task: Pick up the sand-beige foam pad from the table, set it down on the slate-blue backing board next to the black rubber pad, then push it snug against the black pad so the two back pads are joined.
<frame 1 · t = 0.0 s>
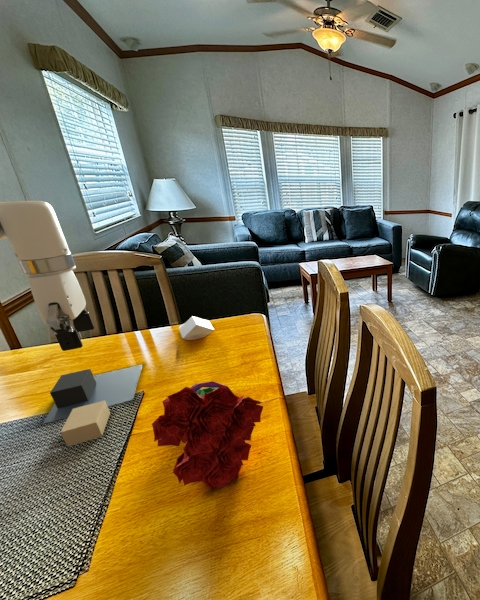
hand: (79, 339, 72), 18 cm above the table, tool pointing down, fingers open, 9 cm apart
backing board: (100, 393, 83), on the table
back pad left: (78, 395, 80), resting on backing board
wedge on round base: (198, 336, 111), on the table
bouquet: (209, 439, 69), on the table
loose pad: (91, 431, 70), on the table
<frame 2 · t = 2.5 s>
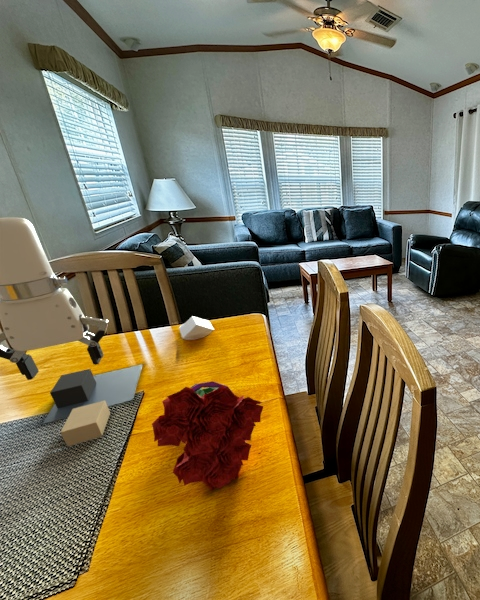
hand: (66, 368, 65), 16 cm above the table, tool pointing down, fingers open, 9 cm apart
nothing on the table moved.
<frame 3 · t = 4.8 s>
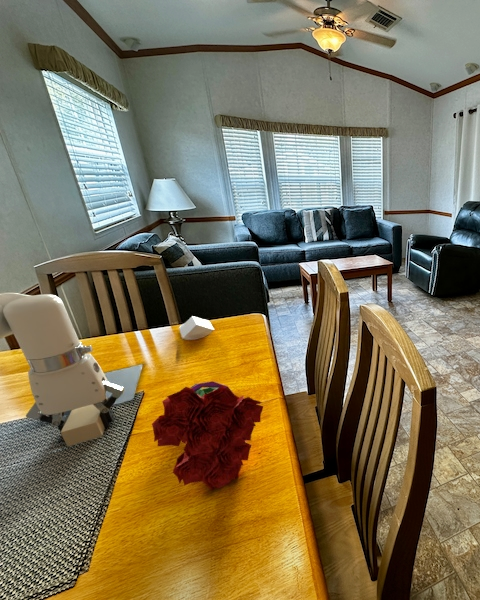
hand: (90, 429, 70), 1 cm above the table, tool pointing down, fingers closed on loose pad, 5 cm apart
loose pad: (91, 431, 70), on the table, touching gripper
everything else where it was.
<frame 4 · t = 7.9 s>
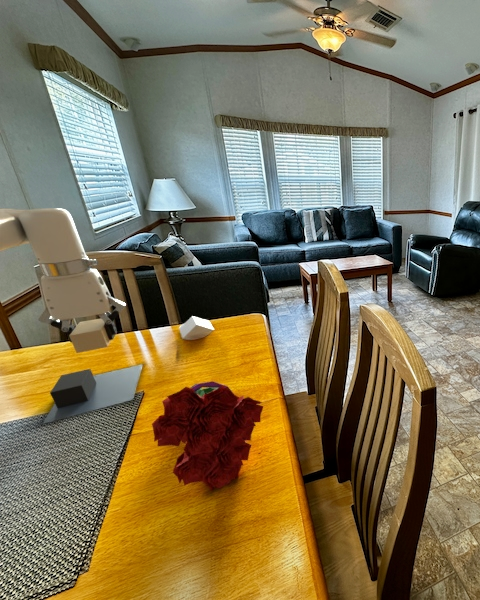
hand: (95, 340, 78), 15 cm above the table, tool pointing down, fingers closed on loose pad, 5 cm apart
loose pad: (96, 342, 78), point 14 cm above the table, touching gripper
everything else where it was.
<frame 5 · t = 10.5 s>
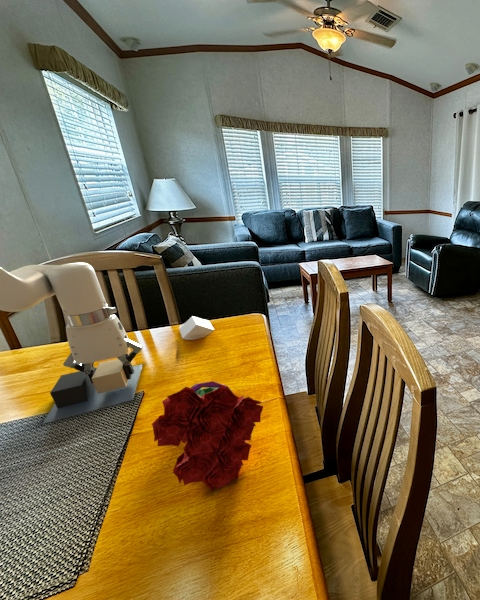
hand: (114, 379, 83), 3 cm above the table, tool pointing down, fingers closed on loose pad, 5 cm apart
loose pad: (115, 382, 83), point 2 cm above the table, touching gripper
everything else where it was.
when the fingers open (2 cm above the table, at t = 11.4 s): loose pad stays where it is, resting on backing board.
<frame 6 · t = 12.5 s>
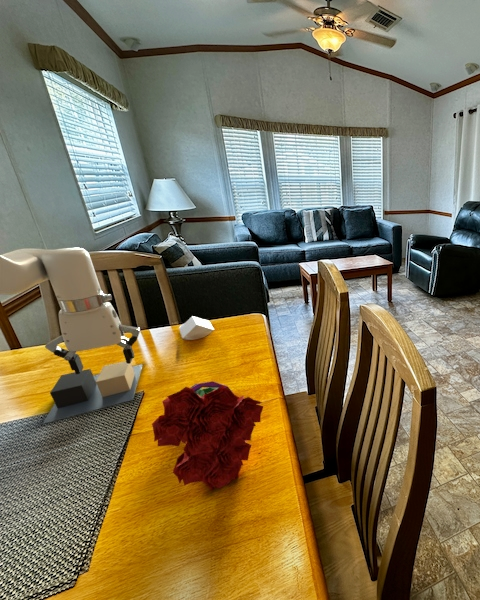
hand: (105, 366, 81), 7 cm above the table, tool pointing down, fingers open, 9 cm apart
loose pad: (119, 385, 84), point 1 cm above the table, touching backing board
everything else where it was.
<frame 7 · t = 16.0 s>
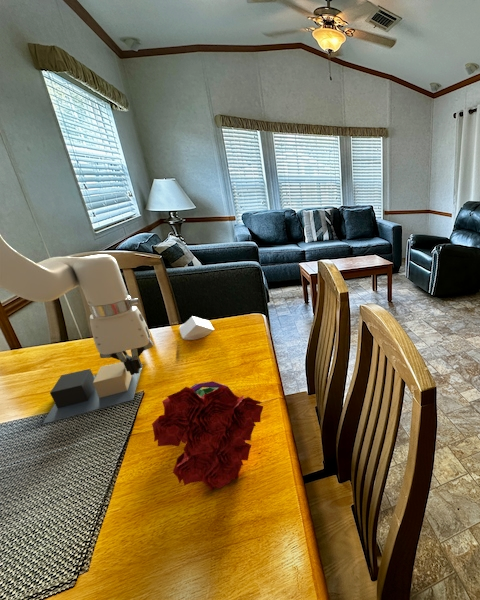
hand: (135, 371, 85), 4 cm above the table, tool pointing down, fingers closed
loose pad: (116, 385, 84), point 1 cm above the table, touching backing board, gripper
everything else where it was.
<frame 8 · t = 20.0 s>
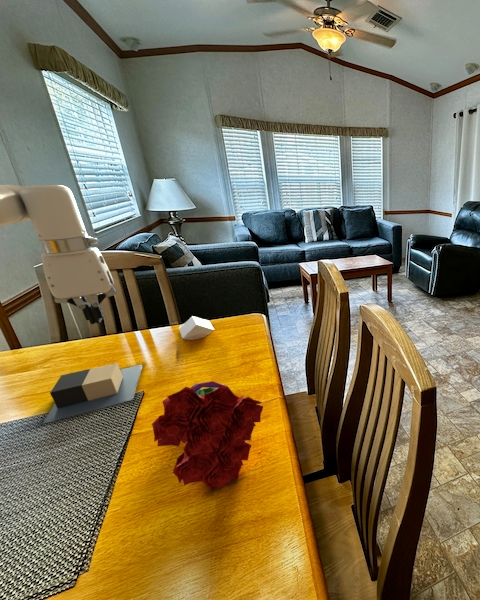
hand: (96, 321, 78), 19 cm above the table, tool pointing down, fingers closed
loose pad: (106, 388, 83), point 1 cm above the table, touching backing board
everything else where it was.
at the end: loose pad 1.1 cm from the target spot, point 1.0 cm above the table; loose pad 5.5 cm from the back pad left (horizontally); loose pad tilted 0° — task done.
